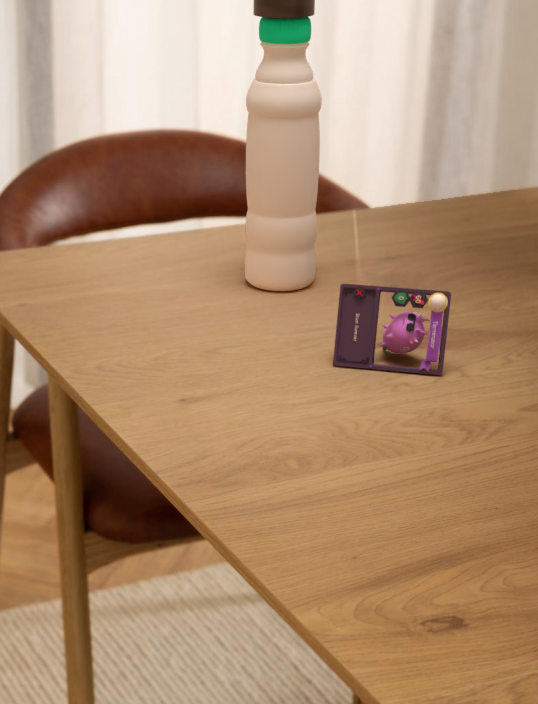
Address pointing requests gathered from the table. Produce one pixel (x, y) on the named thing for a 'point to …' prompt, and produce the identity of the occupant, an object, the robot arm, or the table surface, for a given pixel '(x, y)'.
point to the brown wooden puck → (284, 8)
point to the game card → (389, 327)
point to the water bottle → (282, 160)
